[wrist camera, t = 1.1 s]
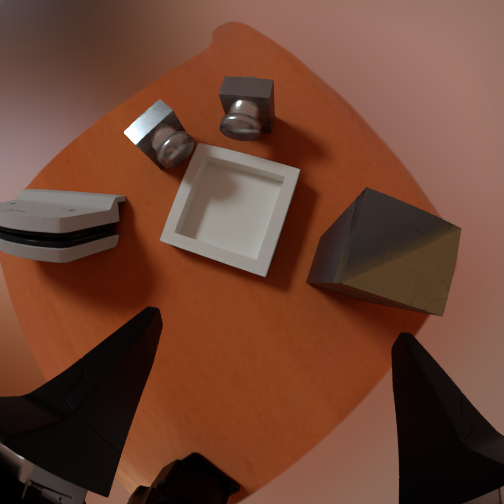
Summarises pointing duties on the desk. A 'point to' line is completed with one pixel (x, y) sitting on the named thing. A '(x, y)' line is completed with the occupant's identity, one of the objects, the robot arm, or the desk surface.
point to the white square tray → (231, 208)
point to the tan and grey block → (388, 255)
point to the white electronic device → (58, 224)
